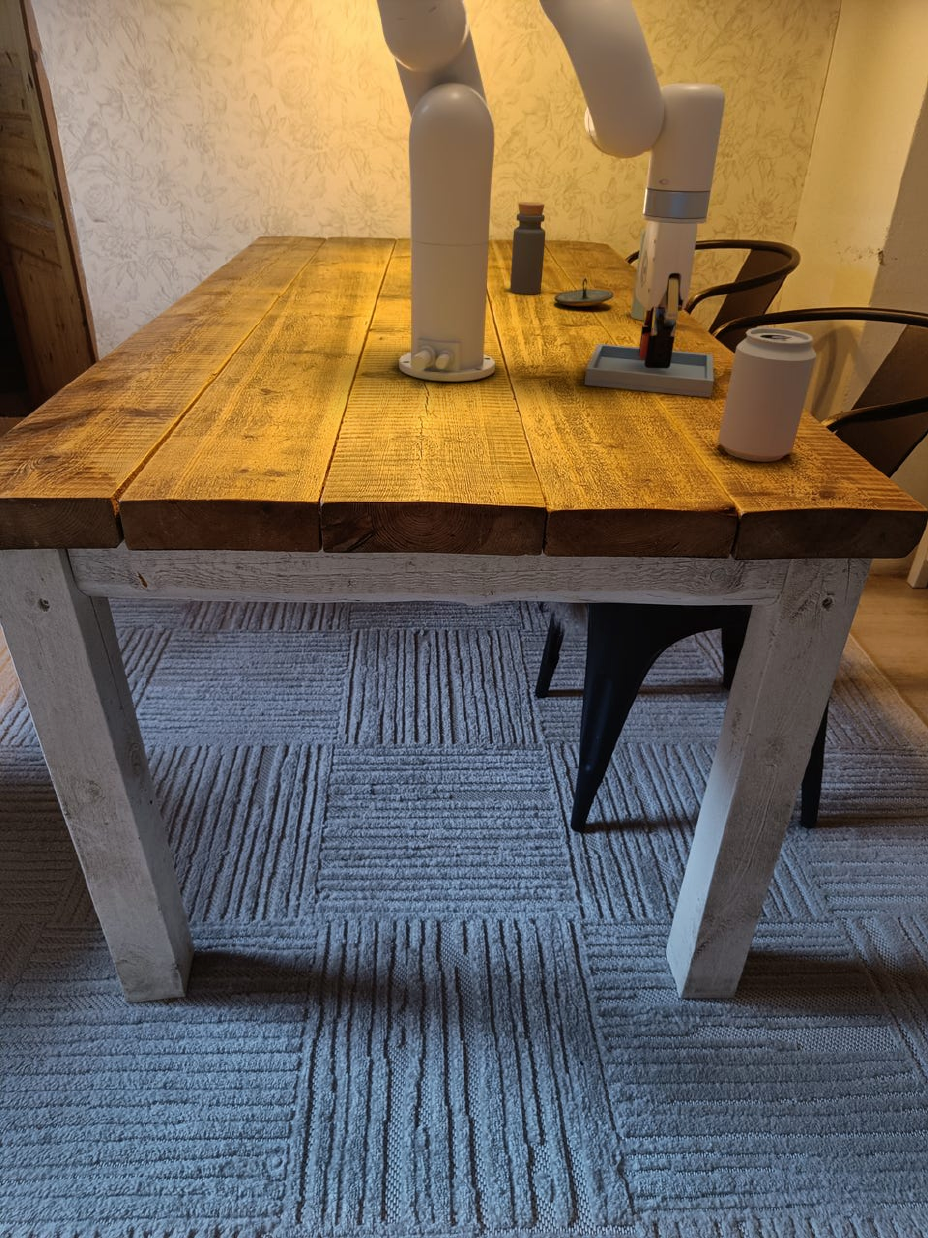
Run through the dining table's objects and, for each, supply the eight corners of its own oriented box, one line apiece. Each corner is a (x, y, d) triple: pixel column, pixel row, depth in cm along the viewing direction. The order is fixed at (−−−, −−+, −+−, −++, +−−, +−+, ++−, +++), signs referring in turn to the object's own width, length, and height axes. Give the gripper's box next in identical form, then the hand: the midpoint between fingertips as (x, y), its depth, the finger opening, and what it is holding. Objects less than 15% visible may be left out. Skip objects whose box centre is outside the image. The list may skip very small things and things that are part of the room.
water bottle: (668, 322, 138) (687, 202, 129) (629, 319, 139) (645, 199, 130) (669, 315, 143) (687, 198, 134) (632, 312, 145) (647, 196, 135)
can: (776, 439, 90) (803, 324, 83) (802, 465, 83) (834, 342, 77) (707, 438, 89) (730, 322, 83) (728, 463, 83) (754, 340, 77)
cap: (676, 360, 107) (680, 338, 106) (649, 362, 106) (652, 340, 104) (660, 353, 110) (663, 331, 109) (633, 354, 109) (636, 332, 108)
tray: (710, 397, 102) (713, 380, 101) (584, 385, 105) (586, 368, 104) (710, 369, 114) (712, 354, 112) (595, 358, 116) (597, 343, 115)
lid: (618, 319, 146) (627, 289, 144) (571, 306, 141) (580, 276, 139) (588, 309, 154) (596, 281, 152) (543, 297, 150) (551, 268, 148)
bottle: (504, 291, 156) (510, 203, 148) (517, 287, 161) (523, 200, 153) (533, 295, 154) (540, 205, 146) (545, 291, 158) (552, 203, 151)
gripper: (633, 199, 106) (615, 346, 115) (657, 213, 92) (635, 379, 101) (691, 200, 106) (669, 347, 115) (724, 215, 92) (696, 381, 101)
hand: (653, 361), depth 108 cm, fingers closed on cap, 3 cm apart
